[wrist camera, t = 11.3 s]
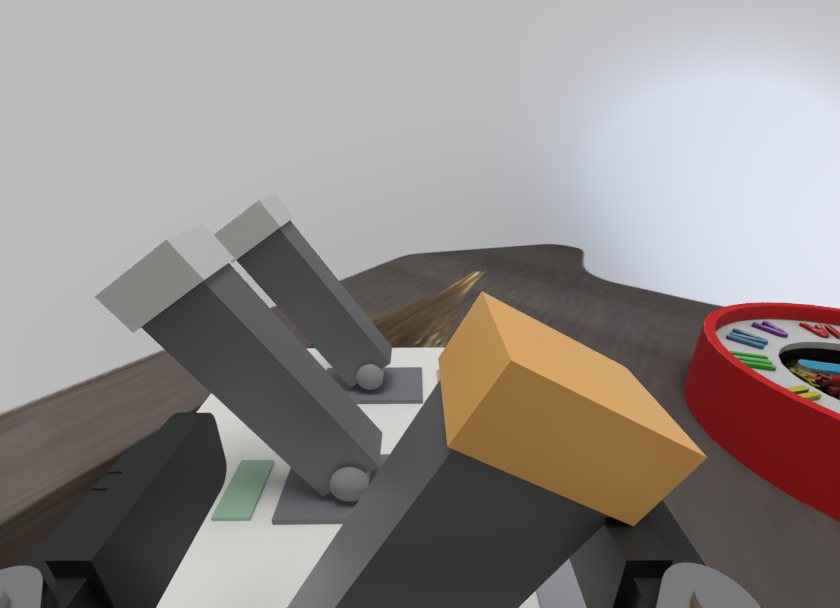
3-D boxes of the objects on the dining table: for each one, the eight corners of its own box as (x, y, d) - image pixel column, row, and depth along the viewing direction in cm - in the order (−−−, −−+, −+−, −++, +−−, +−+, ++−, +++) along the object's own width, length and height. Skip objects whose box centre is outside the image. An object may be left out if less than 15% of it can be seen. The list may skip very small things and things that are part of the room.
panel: (-235, 1190, 8) (-416, 1176, 6) (254, 393, 32) (245, 345, 30) (780, 1159, 8) (876, 1137, 6) (506, 391, 32) (511, 343, 30)
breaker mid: (329, 515, 17) (92, 298, 13) (339, 468, 20) (141, 272, 15) (393, 481, 16) (164, 240, 12) (396, 437, 19) (204, 223, 15)
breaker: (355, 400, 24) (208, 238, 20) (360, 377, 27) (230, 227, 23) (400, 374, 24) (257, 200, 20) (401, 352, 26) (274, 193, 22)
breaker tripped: (212, 769, 9) (512, 364, 5) (254, 637, 12) (480, 289, 7) (348, 798, 10) (712, 462, 6) (361, 667, 12) (623, 365, 8)
